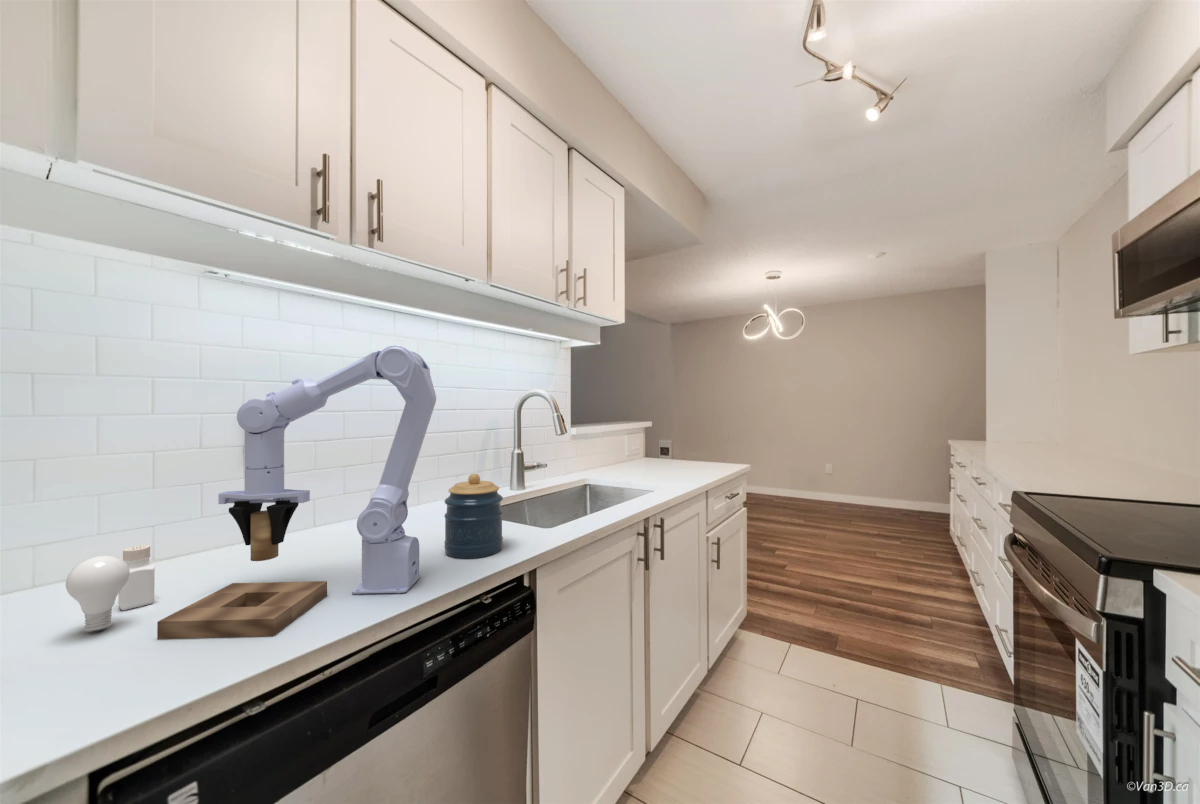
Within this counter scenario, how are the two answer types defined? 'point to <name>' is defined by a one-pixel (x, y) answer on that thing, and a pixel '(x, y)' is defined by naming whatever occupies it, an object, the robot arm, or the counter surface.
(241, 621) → the socket board
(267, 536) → the peg
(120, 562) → the lightbulb
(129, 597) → the salt shaker
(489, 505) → the canister
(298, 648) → the counter surface
